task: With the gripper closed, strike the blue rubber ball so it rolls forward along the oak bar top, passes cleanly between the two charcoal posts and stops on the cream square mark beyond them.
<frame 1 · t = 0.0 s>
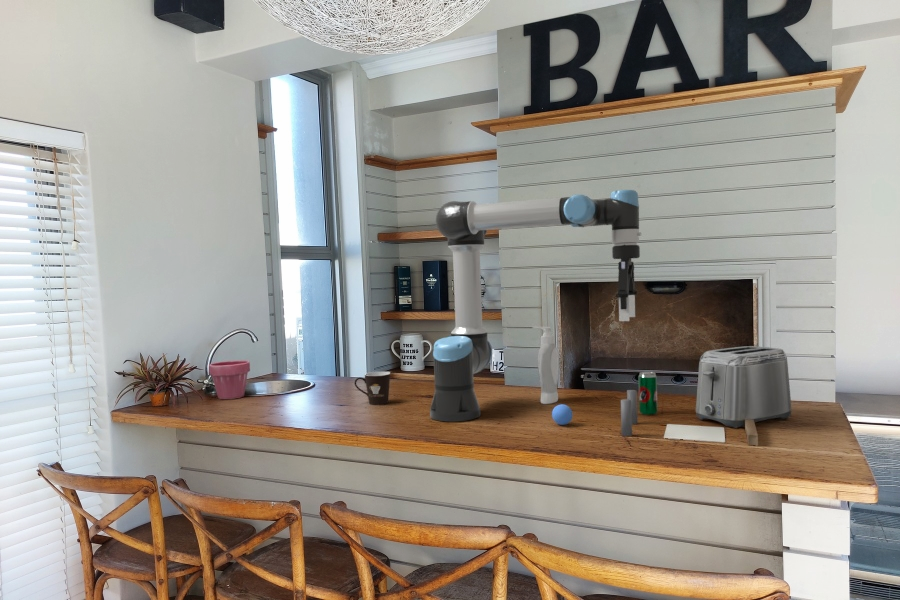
hand: (627, 319, 177), 28 cm above the counter, tool pointing down, fingers open, 13 cm apart
coffee mug: (375, 403, 209), on the counter
soda can: (648, 414, 180), on the counter
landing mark: (694, 433, 157), on the counter
toaster: (746, 419, 170), on the counter
ball: (562, 414, 170), on the counter
soap bottle: (545, 401, 202), on the counter
plant pot: (231, 397, 228), on the counter
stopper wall: (751, 436, 152), on the counter
post 1: (626, 435, 157), on the counter
post 2: (632, 423, 169), on the counter
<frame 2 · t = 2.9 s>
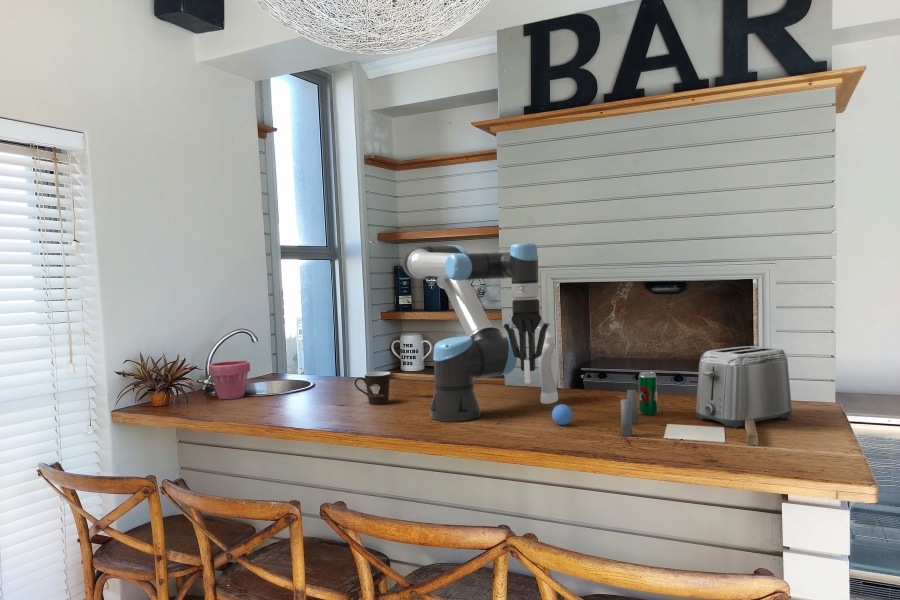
hand: (528, 382, 173), 12 cm above the counter, tool pointing down, fingers closed
nothing on the counter moved.
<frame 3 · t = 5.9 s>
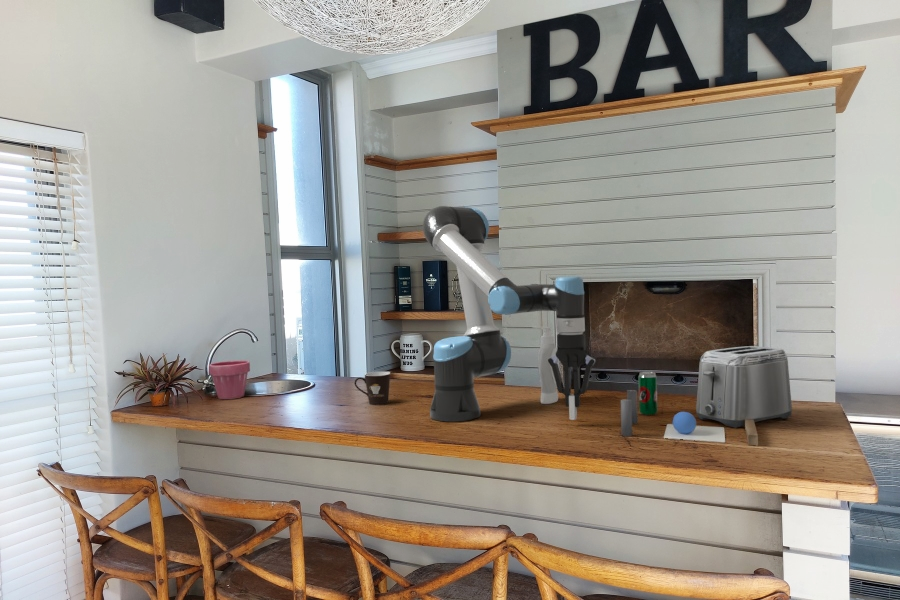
hand: (573, 418, 169), 2 cm above the counter, tool pointing down, fingers closed
ball: (684, 422, 157), on the counter
everything else where it was.
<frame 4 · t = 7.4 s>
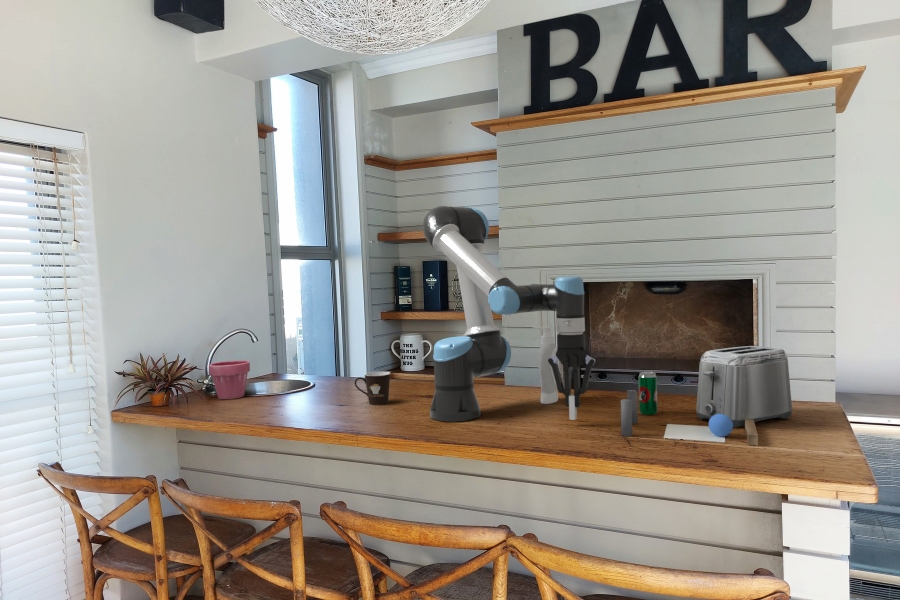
hand: (573, 418, 169), 2 cm above the counter, tool pointing down, fingers closed
ball: (720, 425, 153), on the counter
everything else where it was.
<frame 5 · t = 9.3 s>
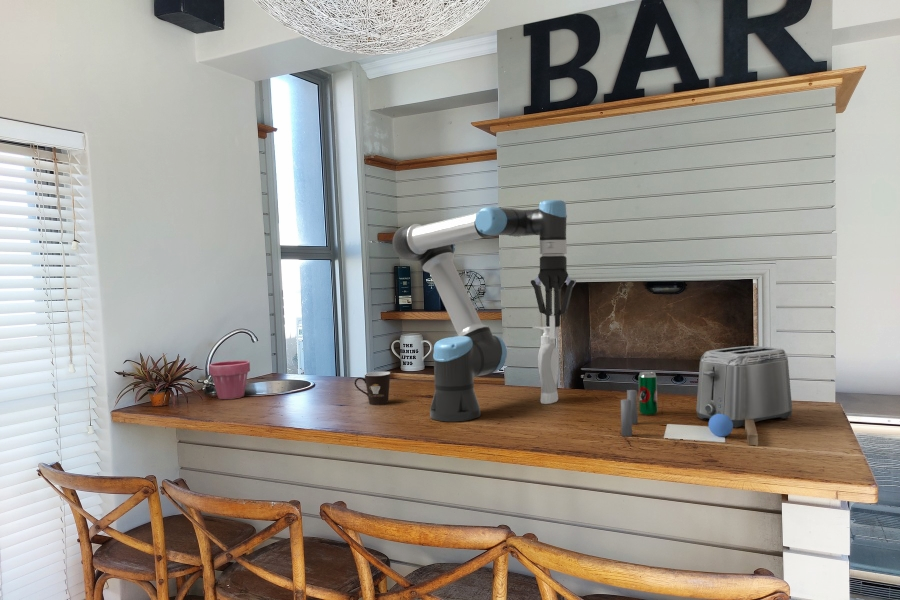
hand: (553, 338, 176), 23 cm above the counter, tool pointing down, fingers closed
nothing on the counter moved.
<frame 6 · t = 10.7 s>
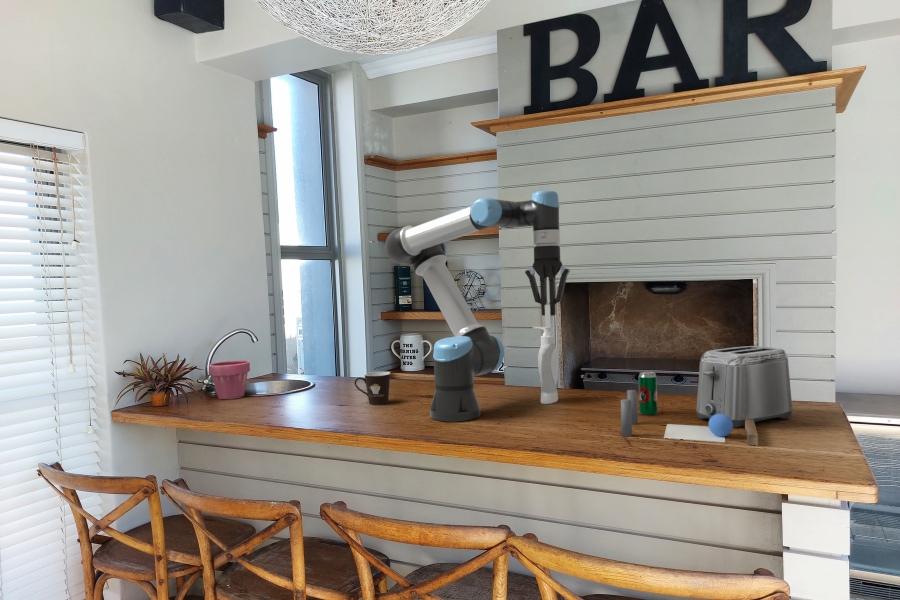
hand: (549, 326, 178), 26 cm above the counter, tool pointing down, fingers closed
nothing on the counter moved.
at the end: ball 6.3 cm from the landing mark (horizontally); ball never touched post 2; ball never touched post 1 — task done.
